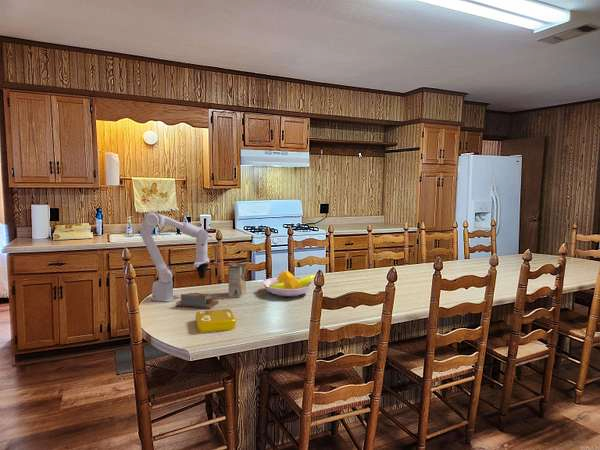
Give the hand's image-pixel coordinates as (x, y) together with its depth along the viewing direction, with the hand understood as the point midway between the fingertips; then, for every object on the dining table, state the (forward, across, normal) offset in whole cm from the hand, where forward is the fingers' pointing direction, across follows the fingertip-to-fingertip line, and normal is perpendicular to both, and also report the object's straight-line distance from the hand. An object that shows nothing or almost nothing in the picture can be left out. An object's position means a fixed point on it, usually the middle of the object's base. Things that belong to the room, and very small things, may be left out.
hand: (201, 278), depth 204 cm
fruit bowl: (+10, +16, -43) cm, 47 cm away
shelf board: (+9, -14, -4) cm, 17 cm away
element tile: (+10, -36, -22) cm, 43 cm away
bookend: (+9, -18, -4) cm, 21 cm away
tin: (+8, -7, -4) cm, 11 cm away
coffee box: (+10, +6, -17) cm, 20 cm away
